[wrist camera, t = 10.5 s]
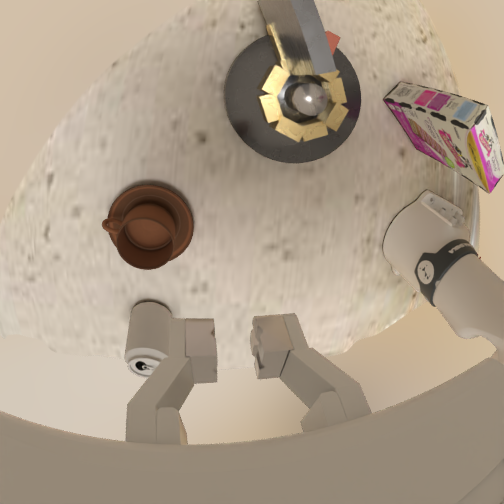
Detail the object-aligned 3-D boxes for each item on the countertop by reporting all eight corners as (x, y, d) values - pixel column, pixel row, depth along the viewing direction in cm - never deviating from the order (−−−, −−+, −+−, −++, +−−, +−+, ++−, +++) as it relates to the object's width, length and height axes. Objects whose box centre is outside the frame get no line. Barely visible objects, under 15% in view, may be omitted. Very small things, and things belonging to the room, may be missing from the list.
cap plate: (360, 49, 26) (387, 48, 21) (341, 164, 36) (363, 179, 31) (230, 23, 22) (237, 10, 18) (219, 155, 32) (223, 170, 28)
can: (131, 295, 43) (121, 353, 33) (174, 301, 45) (173, 360, 35) (131, 323, 46) (124, 378, 37) (170, 328, 49) (169, 383, 39)
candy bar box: (380, 100, 31) (469, 129, 17) (399, 80, 29) (488, 102, 16) (415, 151, 36) (490, 196, 23) (431, 132, 34) (507, 171, 21)
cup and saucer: (117, 256, 38) (108, 283, 33) (106, 182, 31) (90, 202, 26) (193, 255, 40) (194, 283, 36) (194, 179, 34) (193, 198, 29)
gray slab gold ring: (344, 125, 30) (386, 143, 23) (272, 146, 30) (296, 169, 23) (306, -6, 19) (341, -27, 12) (223, 9, 20) (232, -17, 13)
